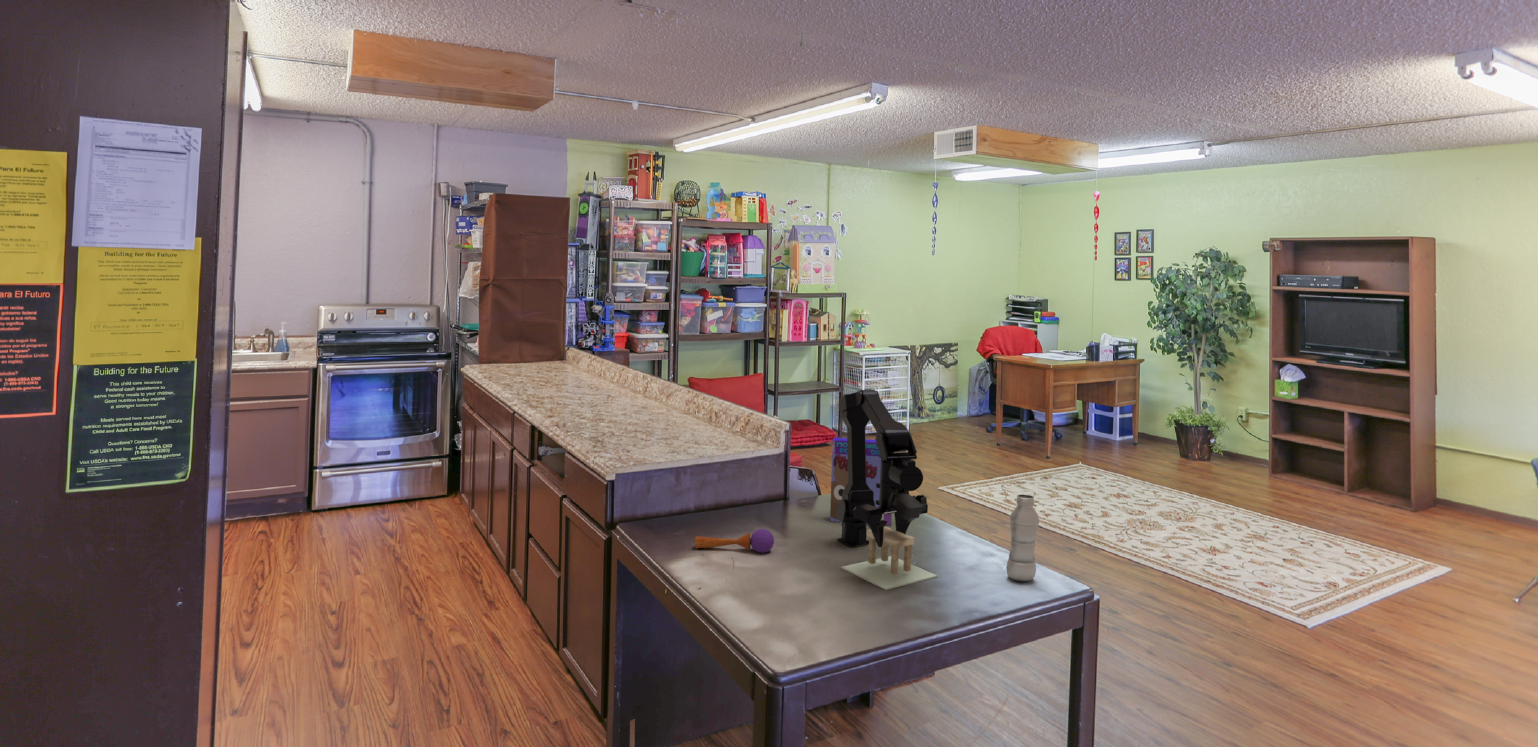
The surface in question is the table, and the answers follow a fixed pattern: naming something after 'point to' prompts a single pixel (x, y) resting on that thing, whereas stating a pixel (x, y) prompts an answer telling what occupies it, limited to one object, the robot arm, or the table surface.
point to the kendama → (740, 541)
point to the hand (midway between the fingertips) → (889, 544)
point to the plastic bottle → (1023, 540)
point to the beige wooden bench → (895, 541)
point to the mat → (888, 573)
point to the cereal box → (841, 473)
